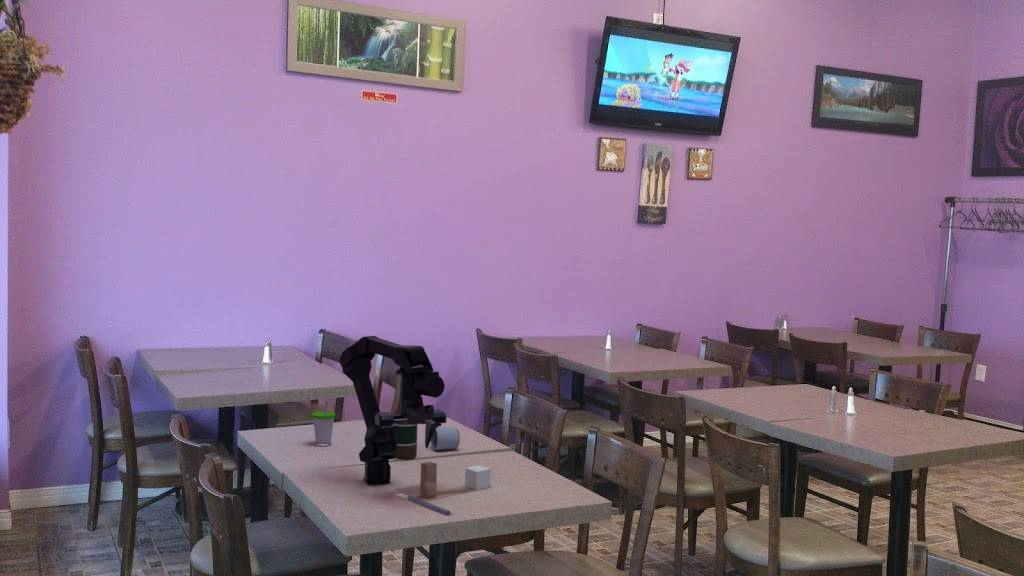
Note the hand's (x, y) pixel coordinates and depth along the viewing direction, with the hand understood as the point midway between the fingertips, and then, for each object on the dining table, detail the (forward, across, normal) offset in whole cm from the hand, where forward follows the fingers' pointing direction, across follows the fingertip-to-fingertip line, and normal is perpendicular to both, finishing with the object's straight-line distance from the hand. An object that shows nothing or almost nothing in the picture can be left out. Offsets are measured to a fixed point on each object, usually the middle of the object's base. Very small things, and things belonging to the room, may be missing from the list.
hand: (410, 449), depth 260 cm
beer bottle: (+12, +9, +38) cm, 41 cm away
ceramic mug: (+12, +24, +46) cm, 53 cm away
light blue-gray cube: (+11, +18, -4) cm, 22 cm away
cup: (+12, -12, +61) cm, 63 cm away
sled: (+12, +11, -6) cm, 17 cm away
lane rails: (+12, +12, -10) cm, 20 cm away
